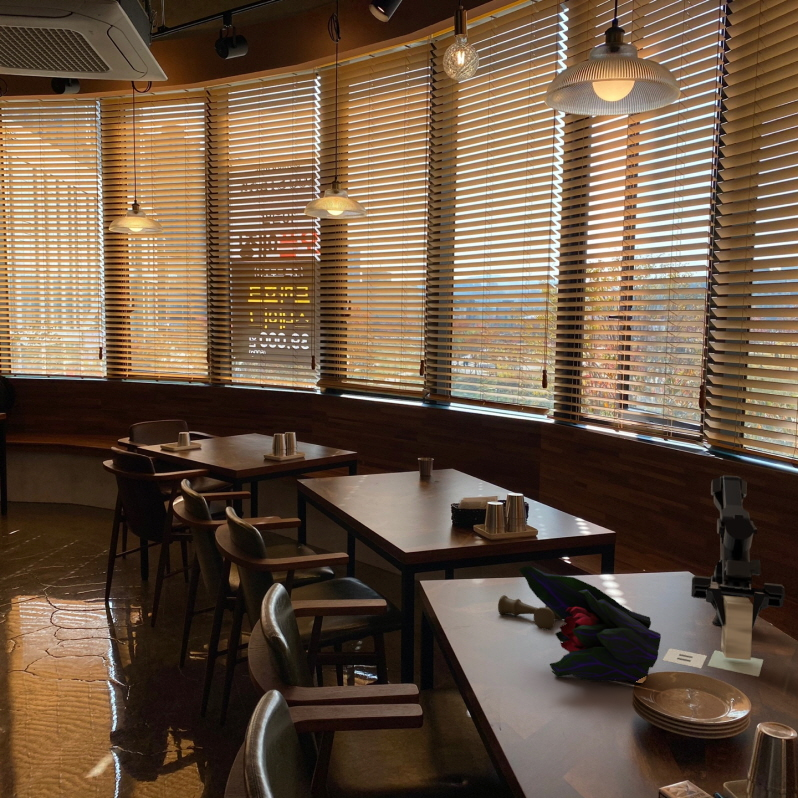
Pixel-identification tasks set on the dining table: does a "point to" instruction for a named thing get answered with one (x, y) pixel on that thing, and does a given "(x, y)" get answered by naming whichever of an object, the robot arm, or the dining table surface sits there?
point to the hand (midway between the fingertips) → (737, 626)
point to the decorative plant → (595, 630)
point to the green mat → (736, 664)
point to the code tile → (685, 658)
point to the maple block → (737, 627)
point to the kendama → (528, 611)
